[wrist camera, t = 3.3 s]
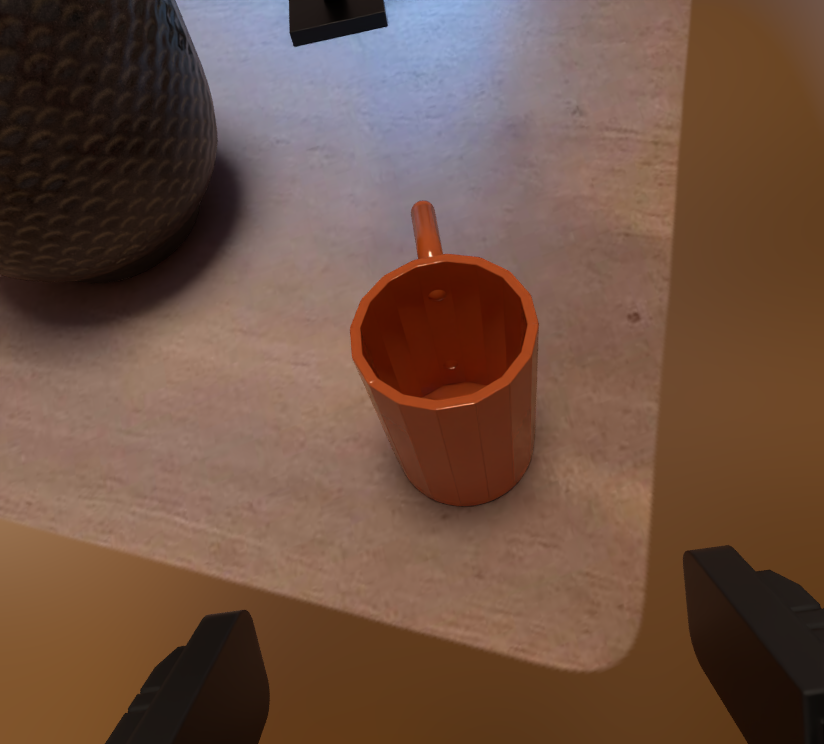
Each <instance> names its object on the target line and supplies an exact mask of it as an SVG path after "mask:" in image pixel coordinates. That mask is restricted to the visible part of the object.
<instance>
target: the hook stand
mask: <svg viewBox="0 0 824 744" xmlns="http://www.w3.org/2000/svg"><path fill="white" fill-rule="evenodd" d="M289 24H290V35H291V39H292V42H293V45H294V46H298V45H302V44H307V43H311V42H316V41H320V40H325V39H329V38H334V37H338V36H343V35H347V34H352V33H356V32H361V31H365V30H370V29H374V28H379V27H383V26H387V19H386V13H385V7H384V1H383V0H289Z"/></svg>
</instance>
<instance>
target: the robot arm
mask: <svg viewBox="0 0 824 744" xmlns="http://www.w3.org/2000/svg"><path fill="white" fill-rule="evenodd" d="M683 569H684V580H685V590H686V601H687V612H688V623H689V631H690V637H691V641H692V645H693V648H694V651H695V654H696V656H697V659H698V661H699V663H700V665H701V667H702V669H703V671H704V672H705V674H706V675H707V677H708V679H709V680H710V682H711V684H712V685H713V687H714V689H715V690H716V692H717V694H718V695H719V697H720V698H721V700H722V702H723V703H724V705H725V707H726V708H727V710H728V712H729V713H730V715H731V716H732V718H733V720H734V721H735V723H736V725H737V726H738V728H739V729H740V731H741V732H742V734H743V736H744V737H745V739H746V741H747V743H748V744H824V609H821V607H820V604H819V603H818V602H817V601H816V600H815V599H814V598H813V597H812V596H811V595H810V594H809V593H807V591H805V590H804V589H803V588H802V587H801V586H800V585H799V584H797V583H795V582H793V581H791V580H789V579H787V578H785V577H783V576H781V575H779V574H777V573H775V572H773V571H771V570H764V571H755V570H754V569H753V568H752V567H751V566H750V565H749V564H748V563H747V562H746V561H745V560H744V559H743V558H742V557H741V556H740V555H739V553H738V552H737V551H736V550H735V549H734V548H733V547H731V546H729V545H726V546H719V547H711V548H705V549H697V550H690V551H686V552H685V553H684V555H683ZM140 691H141V692H140V694H137V696H136V697H135V699H134V700H133V702H132V703H131V705H130V706H129V708H128V713H125V714H124V715H123V717H122V718H121V720H120V721H119V723H118V725H117V726H116V728H115V729H114V731H113V732H112V734H111V735H110V737H109V738H108V740H107V741H106V743H105V744H258V743H259V740H260V737H261V734H262V731H263V728H264V725H265V723H266V720H267V716H268V711H269V701H270V700H269V699H270V698H269V697H270V695H269V694H270V693H269V684H268V678H267V674H266V670H265V667H264V662H263V659H262V655H261V651H260V647H259V643H258V639H257V635H256V631H255V627H254V624H253V620H252V617H251V615H250V613H249V612H248V611H246V610H240V611H233V612H225V613H217V614H210V615H206V616H205V617H204V618H203V619H202V620H201V622H200V624H199V626H198V627H197V629H196V630H195V632H194V634H193V635H192V637H191V639H190V640H189V642H188V643H187V645H186V646H181V647H177V648H176V649H175V650H174V651H173V652H172V653H171V654H169V655H168V656H167V657H166V658H165V659H164V660H163V661H162V662H160V663H159V664H158V665H157V666H156V667H155V668H154V670H153V671H152V673H151V674H150V676H149V677H148V679H147V680H146V682H145V683H144V685H143V686H142V688H141V690H140Z"/></svg>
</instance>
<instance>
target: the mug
mask: <svg viewBox="0 0 824 744" xmlns="http://www.w3.org/2000/svg"><path fill="white" fill-rule="evenodd" d="M411 217H412V223H413V230H414V236H415V242H416V249H417V255H418V259H417V260H414V261H411V262H409V263H407V264H405V265H403V266H401V267H399V268H398V269H396V270H394V271H392V272H390V273H388V274H386V275H384V277H382V278H381V279H380V280H379V281H378V282H377V283H376V284H375V285H374V287H373V288H372V289H371V290H370V291H369V292H368V293H367V294H366V295H365V296H364V297H363V298H362V300H361V301H360V304H359V307H358V309H357V312H356V314H355V317H354V319H353V322H352V324H351V327H350V336H351V350H352V358H353V361H354V363H355V366H356V368H357V370H358V372H359V375H360V377H361V379H362V381H363V384H364V386H365V388H366V391H367V393H368V395H369V397H370V400H371V402H372V404H373V406H374V409H375V411H376V413H377V415H378V418H379V420H380V422H381V424H382V427H383V429H384V431H385V433H386V436H387V438H388V440H389V442H390V445H391V447H392V449H393V451H394V454H395V456H396V458H397V460H398V462H399V464H400V465H401V467H402V469H403V471H404V473H405V475H406V476H407V478H408V479H409V481H410V482H411V483H412V484H413V485H414V486H415V487H416V488H417V489H418V490H419V491H420V492H422V493H423V494H425V495H426V496H428V497H429V498H431V499H434V500H436V501H438V502H441V503H445V504H449V505H455V506H472V505H478V504H483V503H486V502H489V501H492V500H494V499H496V498H498V497H500V496H502V495H503V494H505V493H506V492H508V491H509V490H510V489H511V488H513V487H514V486H515V485H516V484H517V483H518V481H519V480H520V479H521V478H522V476H523V475H524V473H525V472H526V470H527V468H528V466H529V463H530V461H531V457H532V454H533V446H534V440H535V423H536V393H537V363H538V333H539V323H538V319H537V315H536V312H535V308H534V304H533V301H532V297H531V295H530V293H529V292H528V291H527V290H526V289H525V288H524V287H523V286H522V284H521V283H520V282H519V281H518V280H517V279H516V278H515V277H514V276H513V274H512V273H511V272H509V271H508V270H506V269H504V268H502V267H500V266H497V265H495V264H493V263H491V262H489V261H487V260H485V259H483V258H480V257H472V256H463V255H454V254H443V252H442V246H441V241H440V236H439V230H438V225H437V220H436V214H435V209H434V207H433V205H432V204H431V203H430V202H428V201H425V200H422V201H418V202H416V203H415V204H414V205H413V207H412V209H411Z"/></svg>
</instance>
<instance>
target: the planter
mask: <svg viewBox="0 0 824 744" xmlns="http://www.w3.org/2000/svg"><path fill="white" fill-rule="evenodd" d="M217 142H218V139H217V126H216V119H215V112H214V106H213V101H212V97H211V93H210V89H209V85H208V82H207V79H206V76H205V73H204V70H203V67H202V65H201V62H200V60H199V57H198V55H197V52H196V50H195V47H194V45H193V42H192V40H191V37H190V35H189V32H188V30H187V27H186V25H185V23H184V20H183V18H182V15H181V13H180V10H179V8H178V6H177V3H176V1H175V0H0V275H2V276H6V277H10V278H15V279H20V280H30V281H42V282H62V281H81V282H88V283H105V282H113V281H118V280H123V279H126V278H129V277H132V276H135V275H137V274H140V273H142V272H144V271H146V270H148V269H150V268H152V267H153V266H155V265H157V264H158V263H160V262H161V261H163V260H164V259H165V258H167V257H168V256H169V255H170V254H171V253H173V252H174V251H175V250H176V249H177V248H178V247H179V246H180V245H181V243H182V242H183V241H184V240H185V238H186V237H187V236H188V234H189V233H190V231H191V229H192V227H193V225H194V223H195V221H196V218H197V215H198V212H199V204H200V202H201V200H202V198H203V196H204V194H205V192H206V190H207V188H208V185H209V182H210V179H211V176H212V173H213V169H214V165H215V159H216V152H217Z"/></svg>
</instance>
